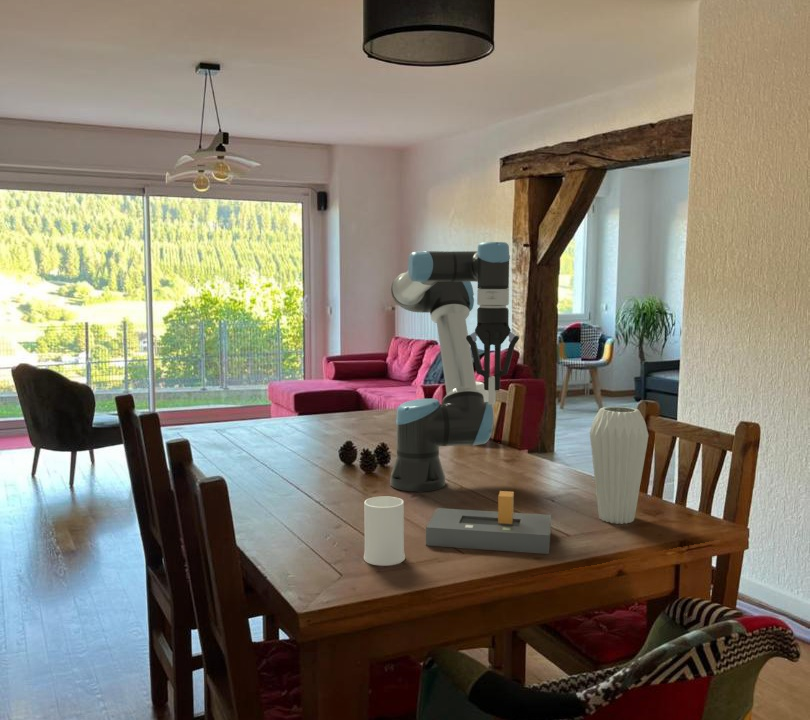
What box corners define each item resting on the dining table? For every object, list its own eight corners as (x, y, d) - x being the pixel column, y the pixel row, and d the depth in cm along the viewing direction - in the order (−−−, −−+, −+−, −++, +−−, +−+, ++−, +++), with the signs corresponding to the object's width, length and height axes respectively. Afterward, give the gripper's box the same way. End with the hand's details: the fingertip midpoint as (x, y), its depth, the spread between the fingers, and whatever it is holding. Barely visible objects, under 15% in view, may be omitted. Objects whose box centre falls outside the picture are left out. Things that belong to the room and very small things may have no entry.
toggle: (498, 523, 171) (498, 496, 170) (499, 517, 175) (500, 491, 174) (511, 523, 170) (512, 496, 170) (513, 518, 174) (513, 491, 174)
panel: (426, 545, 170) (426, 526, 169) (436, 524, 183) (437, 507, 183) (548, 553, 164) (549, 534, 164) (550, 532, 178) (551, 514, 178)
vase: (636, 531, 178) (640, 416, 175) (579, 521, 185) (582, 411, 182) (652, 515, 190) (656, 407, 187) (598, 507, 197) (600, 402, 194)
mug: (351, 550, 167) (350, 494, 166) (387, 543, 171) (387, 489, 169) (373, 568, 157) (373, 510, 155) (412, 561, 160) (412, 504, 159)
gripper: (463, 307, 188) (463, 405, 190) (519, 307, 185) (517, 407, 188) (468, 305, 195) (467, 400, 198) (521, 306, 192) (519, 401, 195)
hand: (492, 403), depth 193 cm, fingers closed
